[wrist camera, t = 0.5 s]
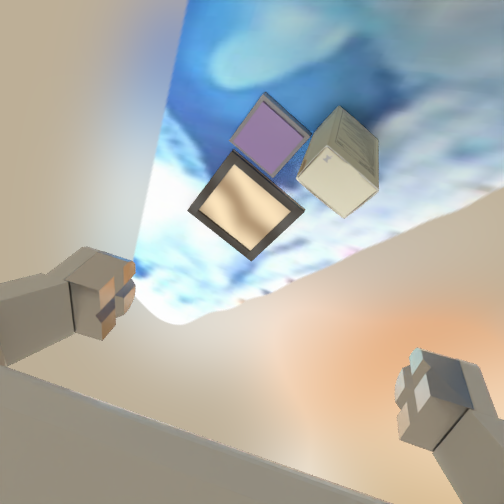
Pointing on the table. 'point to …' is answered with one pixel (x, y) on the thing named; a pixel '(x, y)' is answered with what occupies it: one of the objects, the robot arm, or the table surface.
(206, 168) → the table surface
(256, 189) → the framed board
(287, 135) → the pad
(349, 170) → the skincare box
